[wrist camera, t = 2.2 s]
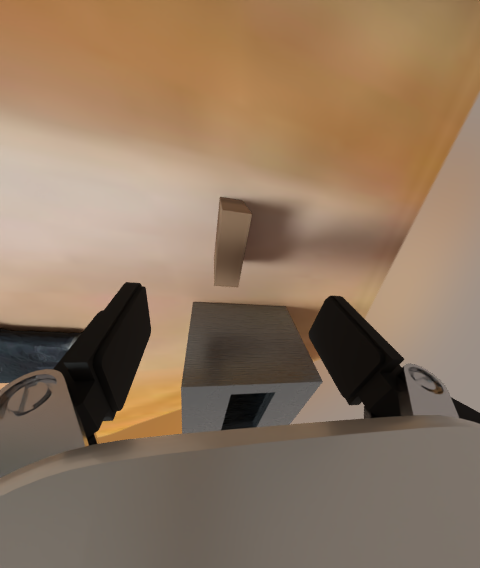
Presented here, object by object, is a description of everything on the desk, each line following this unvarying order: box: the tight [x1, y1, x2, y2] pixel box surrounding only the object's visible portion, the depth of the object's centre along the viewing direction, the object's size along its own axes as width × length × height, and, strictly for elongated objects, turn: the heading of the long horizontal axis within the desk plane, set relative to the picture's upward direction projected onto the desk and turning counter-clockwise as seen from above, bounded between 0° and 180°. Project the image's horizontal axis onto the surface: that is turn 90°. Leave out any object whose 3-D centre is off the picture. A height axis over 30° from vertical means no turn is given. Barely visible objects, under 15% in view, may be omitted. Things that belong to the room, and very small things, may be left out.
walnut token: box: [214, 197, 252, 287], centre depth 16 cm, size 6×2×5 cm, turn 171°
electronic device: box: [0, 329, 82, 383], centre depth 22 cm, size 9×6×15 cm
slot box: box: [181, 302, 322, 434], centre depth 22 cm, size 12×12×10 cm
